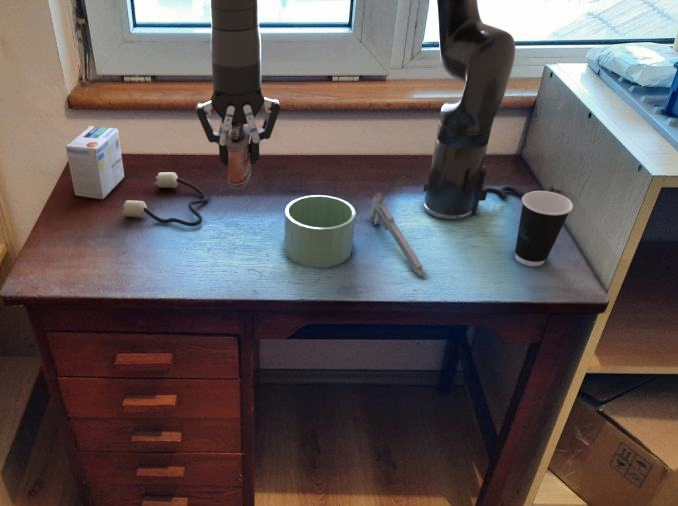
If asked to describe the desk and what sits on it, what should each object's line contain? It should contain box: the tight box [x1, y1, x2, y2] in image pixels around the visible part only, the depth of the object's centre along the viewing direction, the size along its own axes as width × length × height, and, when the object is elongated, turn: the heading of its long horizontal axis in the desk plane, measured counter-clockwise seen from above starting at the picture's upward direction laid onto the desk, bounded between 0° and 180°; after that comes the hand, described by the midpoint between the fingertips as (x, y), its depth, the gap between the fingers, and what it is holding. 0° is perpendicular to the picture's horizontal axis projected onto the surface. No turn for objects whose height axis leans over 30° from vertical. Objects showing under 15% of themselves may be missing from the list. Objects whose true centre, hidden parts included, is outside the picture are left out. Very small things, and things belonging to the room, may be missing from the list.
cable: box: [121, 171, 208, 227], centre depth 129 cm, size 16×16×4 cm
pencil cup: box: [283, 194, 357, 268], centre depth 115 cm, size 12×12×8 cm
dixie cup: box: [514, 190, 574, 267], centre depth 111 cm, size 8×8×11 cm
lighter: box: [227, 123, 252, 190], centre depth 109 cm, size 8×3×10 cm, turn 169°
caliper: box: [369, 192, 426, 277], centre depth 116 cm, size 20×1×6 cm, turn 16°
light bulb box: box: [65, 125, 125, 200], centre depth 133 cm, size 11×7×11 cm, turn 164°
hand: (239, 162), depth 111 cm, fingers closed on lighter, 4 cm apart
